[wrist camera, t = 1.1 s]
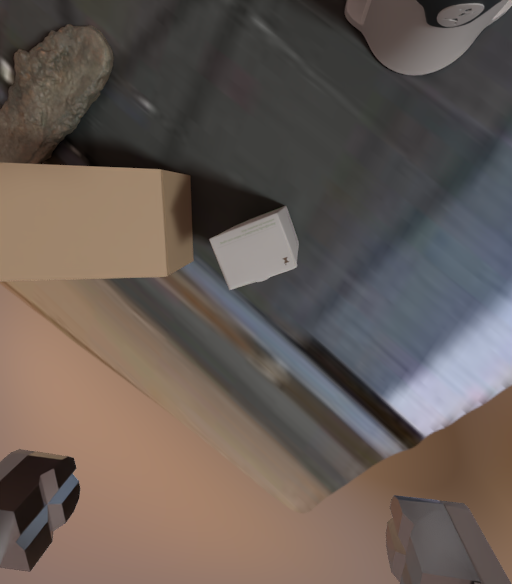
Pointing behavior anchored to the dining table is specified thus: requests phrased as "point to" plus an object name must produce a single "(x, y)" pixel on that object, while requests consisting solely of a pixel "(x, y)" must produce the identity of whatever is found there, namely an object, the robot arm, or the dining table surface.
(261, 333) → the dining table surface
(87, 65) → the long grey stone
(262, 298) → the dining table surface
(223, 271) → the skincare box
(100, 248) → the lid flap
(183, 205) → the carton
